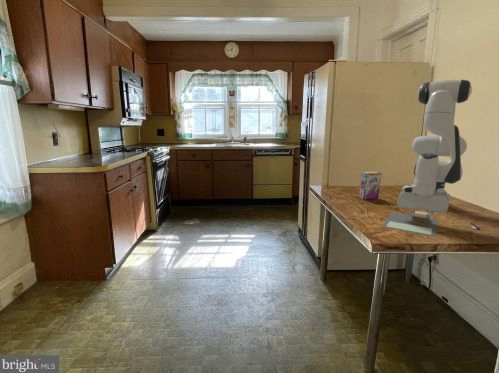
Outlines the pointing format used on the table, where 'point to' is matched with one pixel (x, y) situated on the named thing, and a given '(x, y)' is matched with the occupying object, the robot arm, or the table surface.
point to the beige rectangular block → (419, 218)
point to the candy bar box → (370, 185)
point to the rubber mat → (410, 224)
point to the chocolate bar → (474, 226)
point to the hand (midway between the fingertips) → (419, 218)
